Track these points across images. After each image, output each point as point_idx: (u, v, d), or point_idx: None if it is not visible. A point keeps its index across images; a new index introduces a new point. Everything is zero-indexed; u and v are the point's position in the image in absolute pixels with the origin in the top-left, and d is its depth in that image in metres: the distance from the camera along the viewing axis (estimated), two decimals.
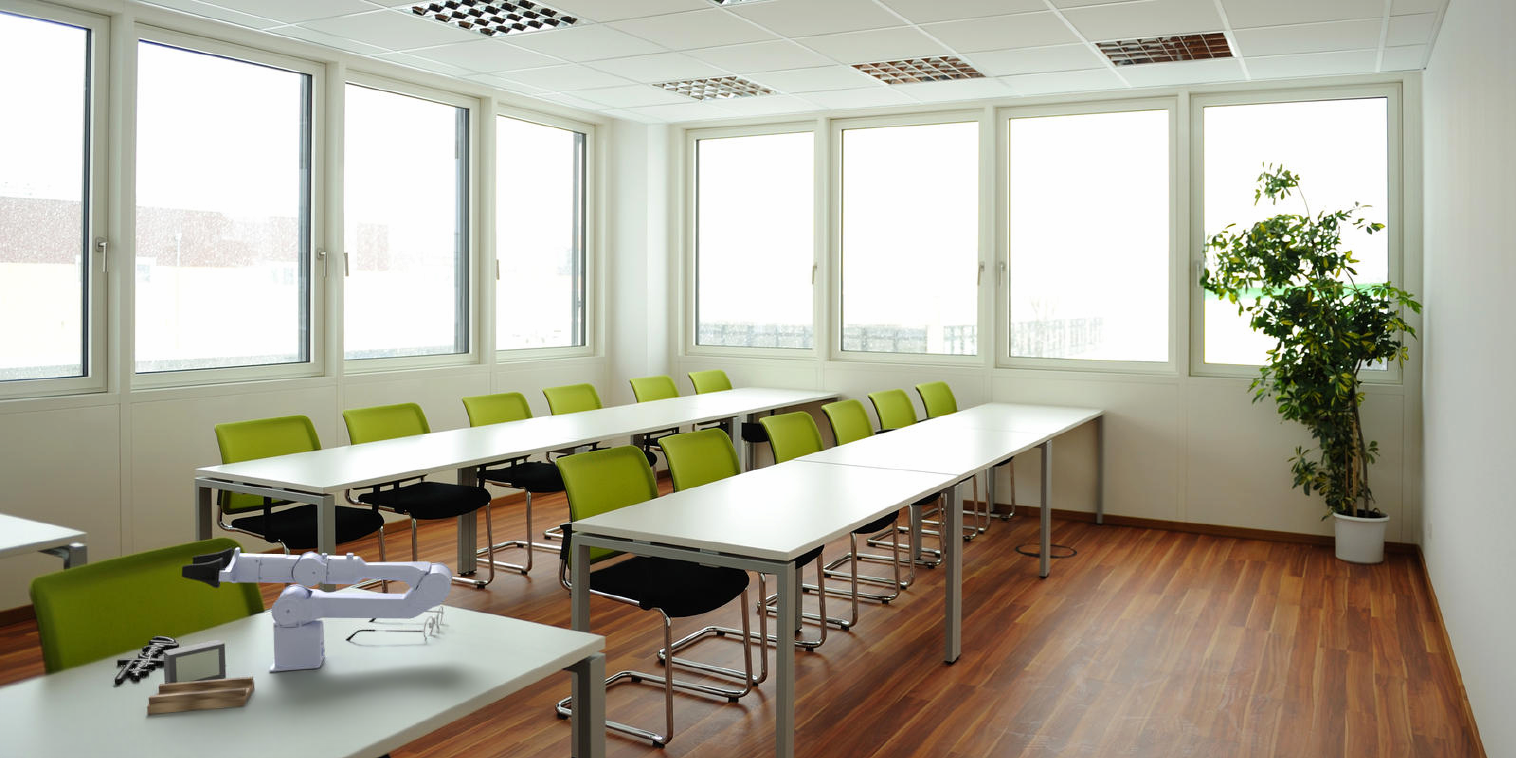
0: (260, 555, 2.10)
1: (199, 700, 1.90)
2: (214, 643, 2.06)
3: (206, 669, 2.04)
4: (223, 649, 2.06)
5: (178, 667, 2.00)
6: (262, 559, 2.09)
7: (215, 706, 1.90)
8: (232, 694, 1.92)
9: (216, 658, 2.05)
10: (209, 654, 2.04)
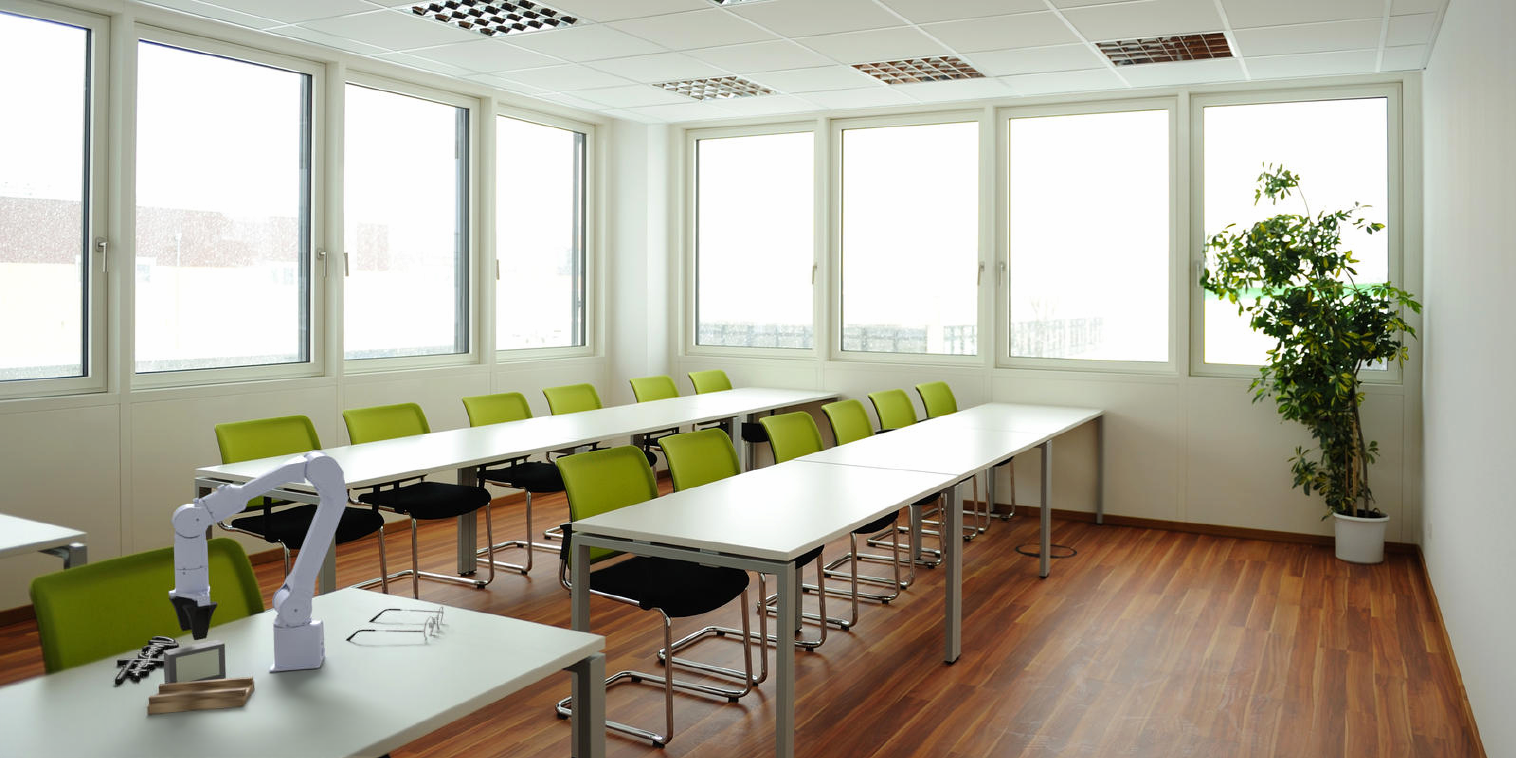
0: (176, 570, 2.00)
1: (199, 700, 1.90)
2: (214, 643, 2.06)
3: (206, 669, 2.04)
4: (223, 649, 2.06)
5: (178, 667, 2.00)
6: (179, 568, 2.00)
7: (215, 706, 1.90)
8: (232, 694, 1.92)
9: (216, 658, 2.05)
10: (209, 654, 2.04)
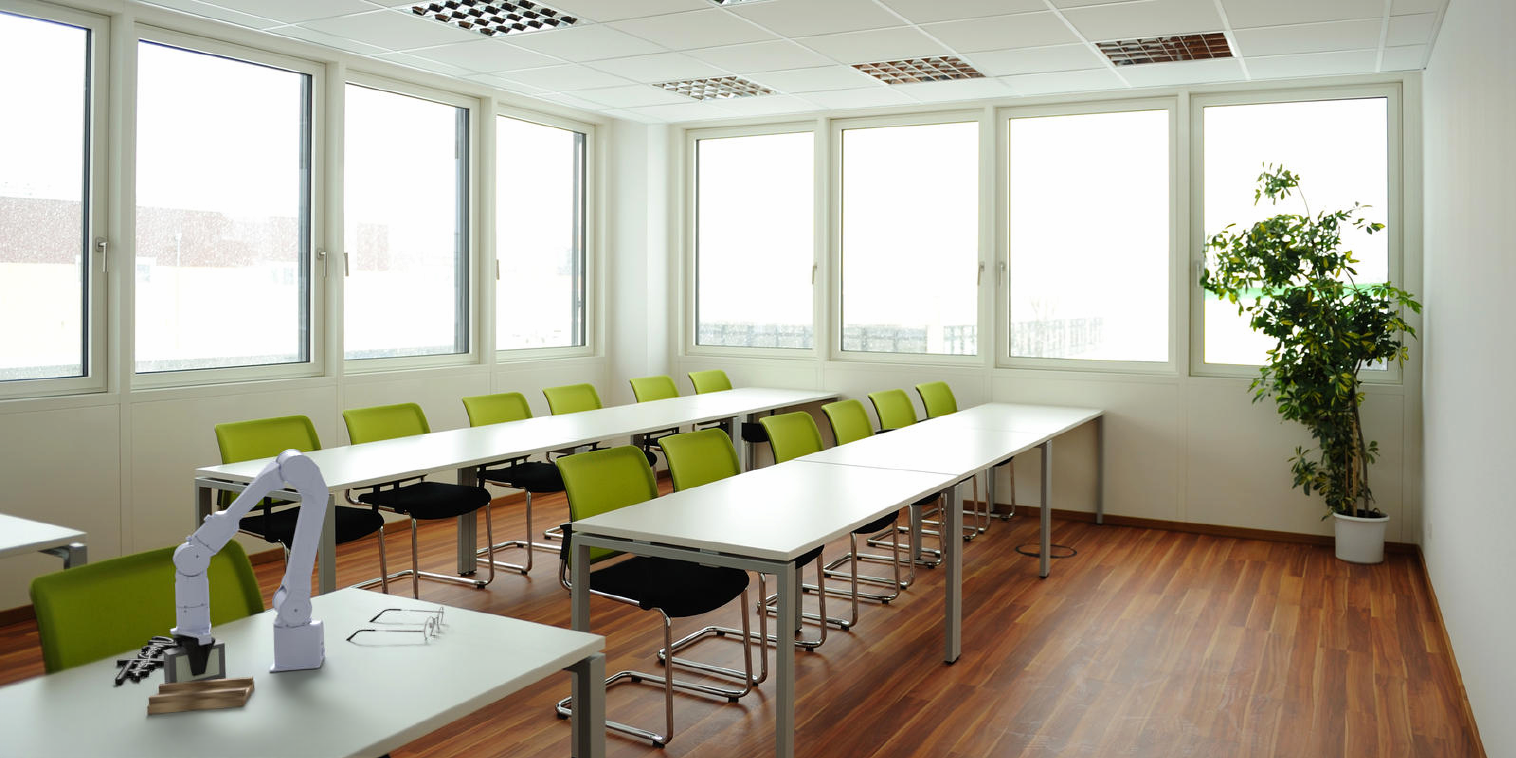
0: (178, 608, 2.00)
1: (199, 700, 1.90)
2: None
3: (206, 669, 2.03)
4: (223, 649, 2.06)
5: (178, 667, 2.00)
6: (180, 606, 2.00)
7: (215, 706, 1.90)
8: (232, 694, 1.92)
9: (216, 658, 2.05)
10: (209, 654, 2.04)
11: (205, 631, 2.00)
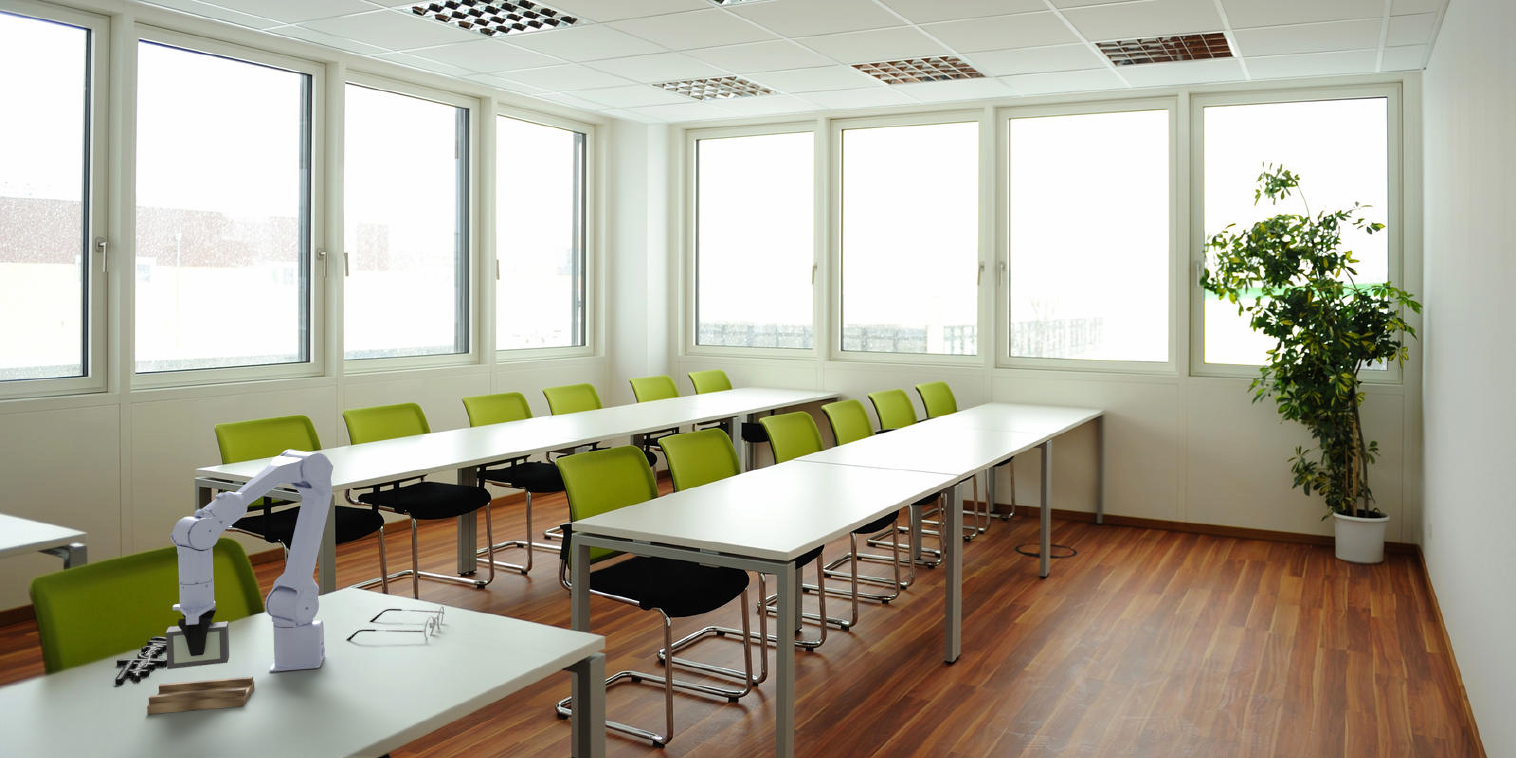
0: (179, 584, 1.93)
1: (199, 700, 1.90)
2: (218, 625, 1.96)
3: (206, 651, 1.95)
4: (224, 632, 1.96)
5: (175, 646, 1.93)
6: (190, 582, 1.92)
7: (215, 706, 1.90)
8: (232, 694, 1.92)
9: (217, 641, 1.95)
10: (209, 636, 1.95)
11: (198, 611, 1.91)
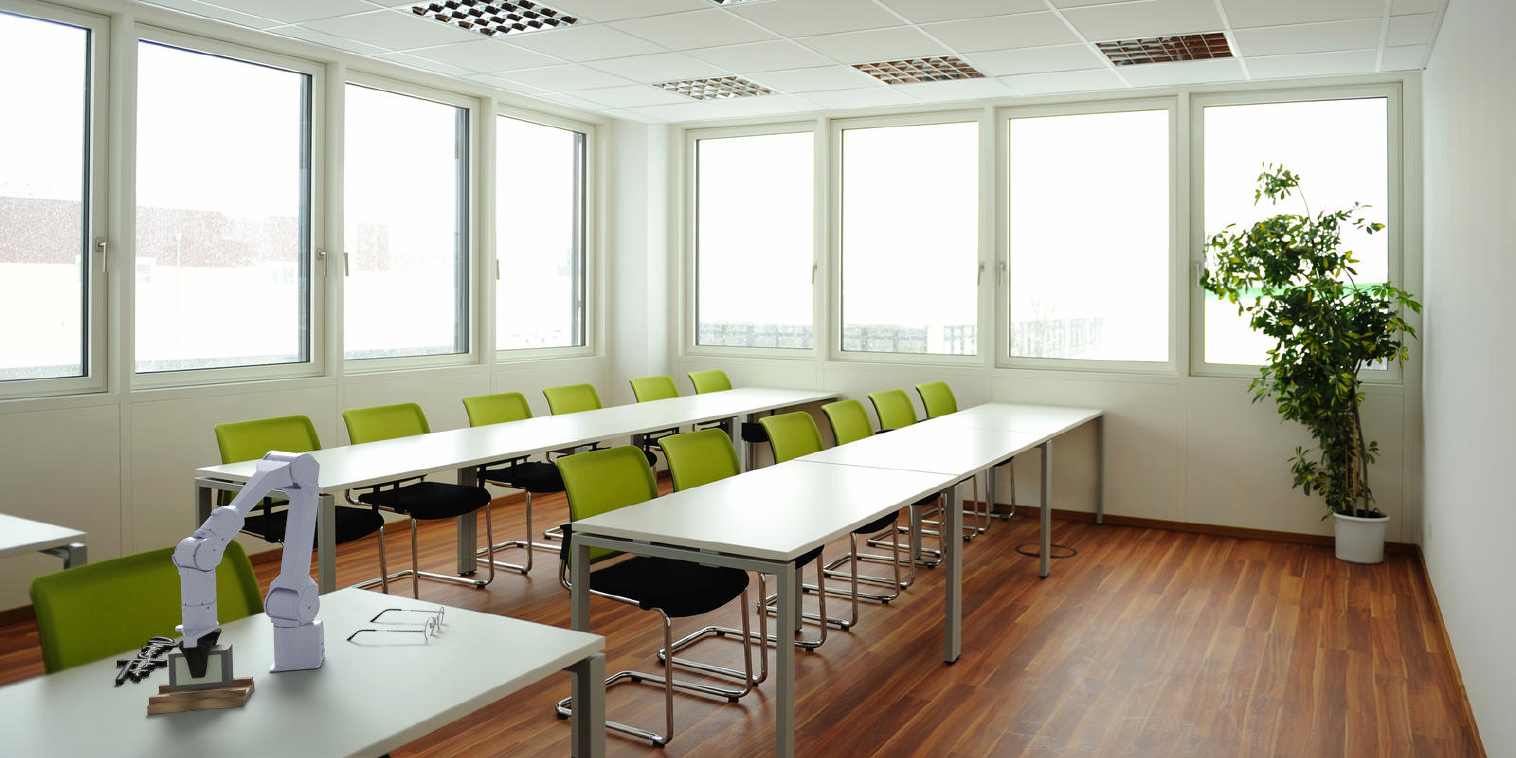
0: None
1: (199, 700, 1.90)
2: (221, 647, 1.94)
3: (208, 674, 1.92)
4: (226, 655, 1.93)
5: (178, 668, 1.91)
6: (195, 604, 1.90)
7: (215, 706, 1.90)
8: (232, 694, 1.92)
9: (219, 664, 1.92)
10: (211, 659, 1.92)
11: (197, 633, 1.88)
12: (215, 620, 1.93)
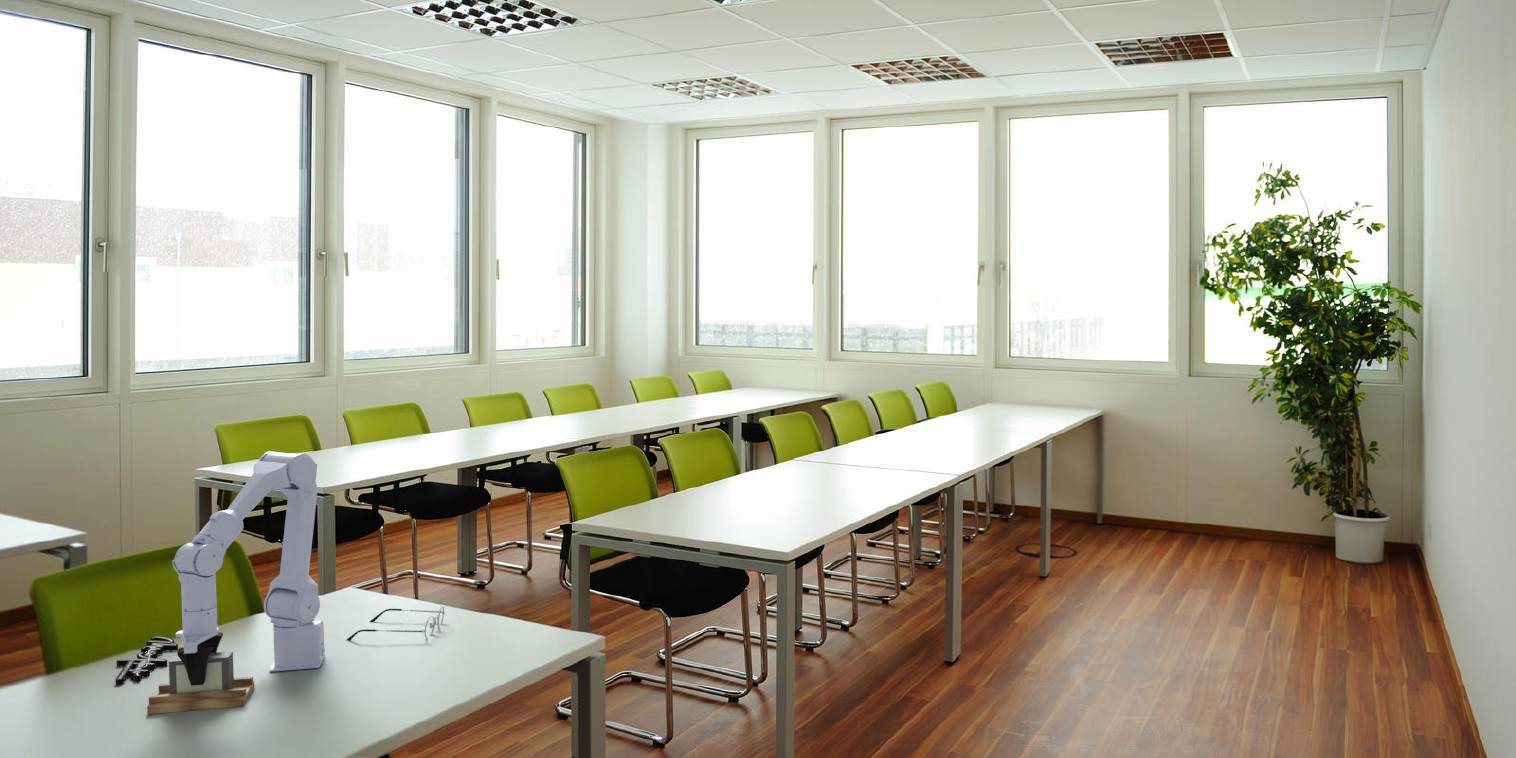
0: (182, 611, 1.91)
1: (199, 700, 1.90)
2: (221, 655, 1.94)
3: (208, 682, 1.92)
4: (227, 663, 1.93)
5: (178, 675, 1.91)
6: (195, 610, 1.90)
7: (215, 706, 1.90)
8: (232, 694, 1.92)
9: (219, 672, 1.93)
10: (211, 666, 1.92)
11: (197, 639, 1.89)
12: (215, 626, 1.93)
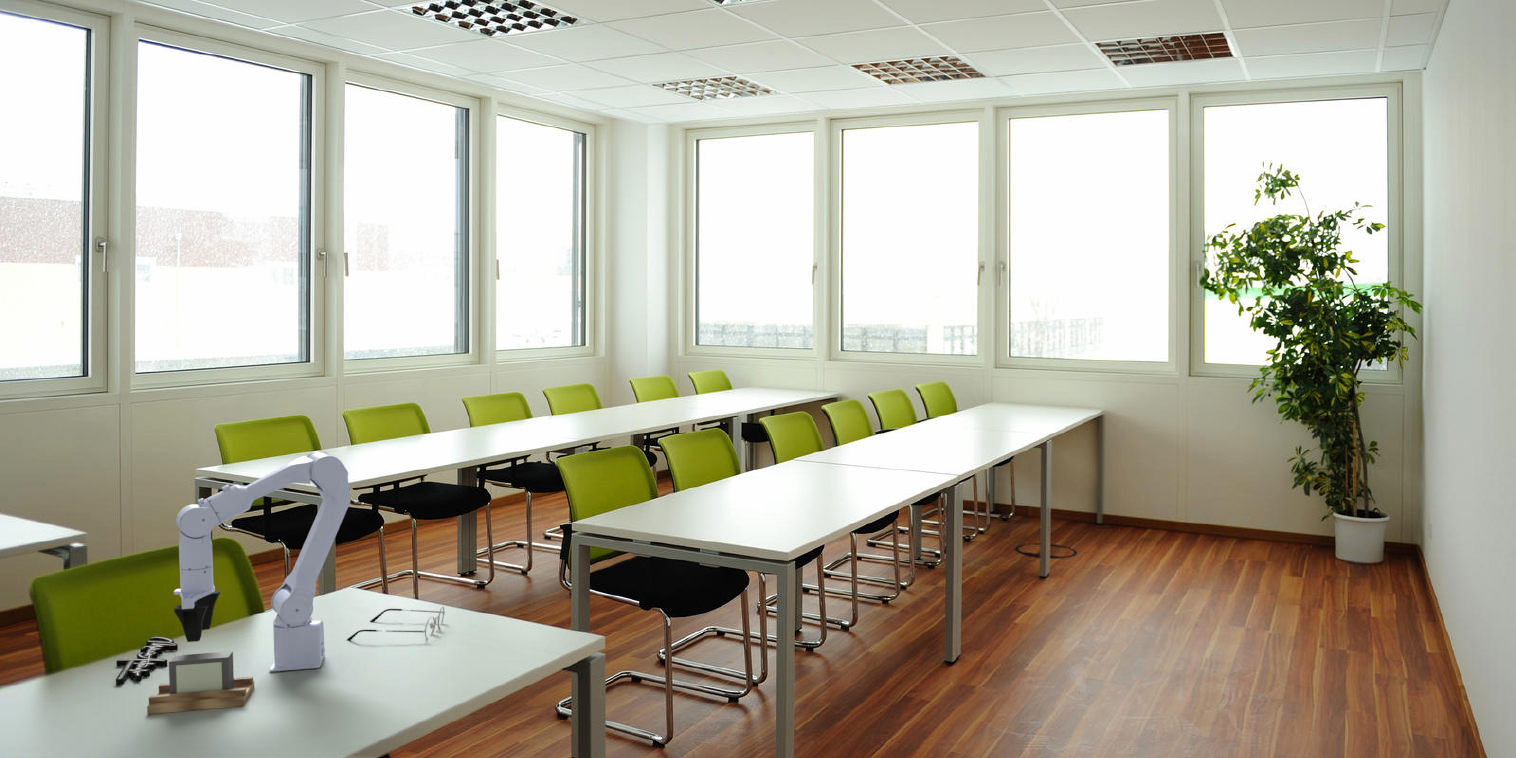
0: None
1: (199, 700, 1.90)
2: (221, 655, 1.94)
3: (208, 682, 1.92)
4: (227, 663, 1.93)
5: (178, 675, 1.91)
6: (184, 568, 1.99)
7: (215, 706, 1.90)
8: (232, 694, 1.92)
9: (219, 672, 1.93)
10: (211, 666, 1.92)
11: (194, 596, 1.98)
12: (212, 584, 2.02)
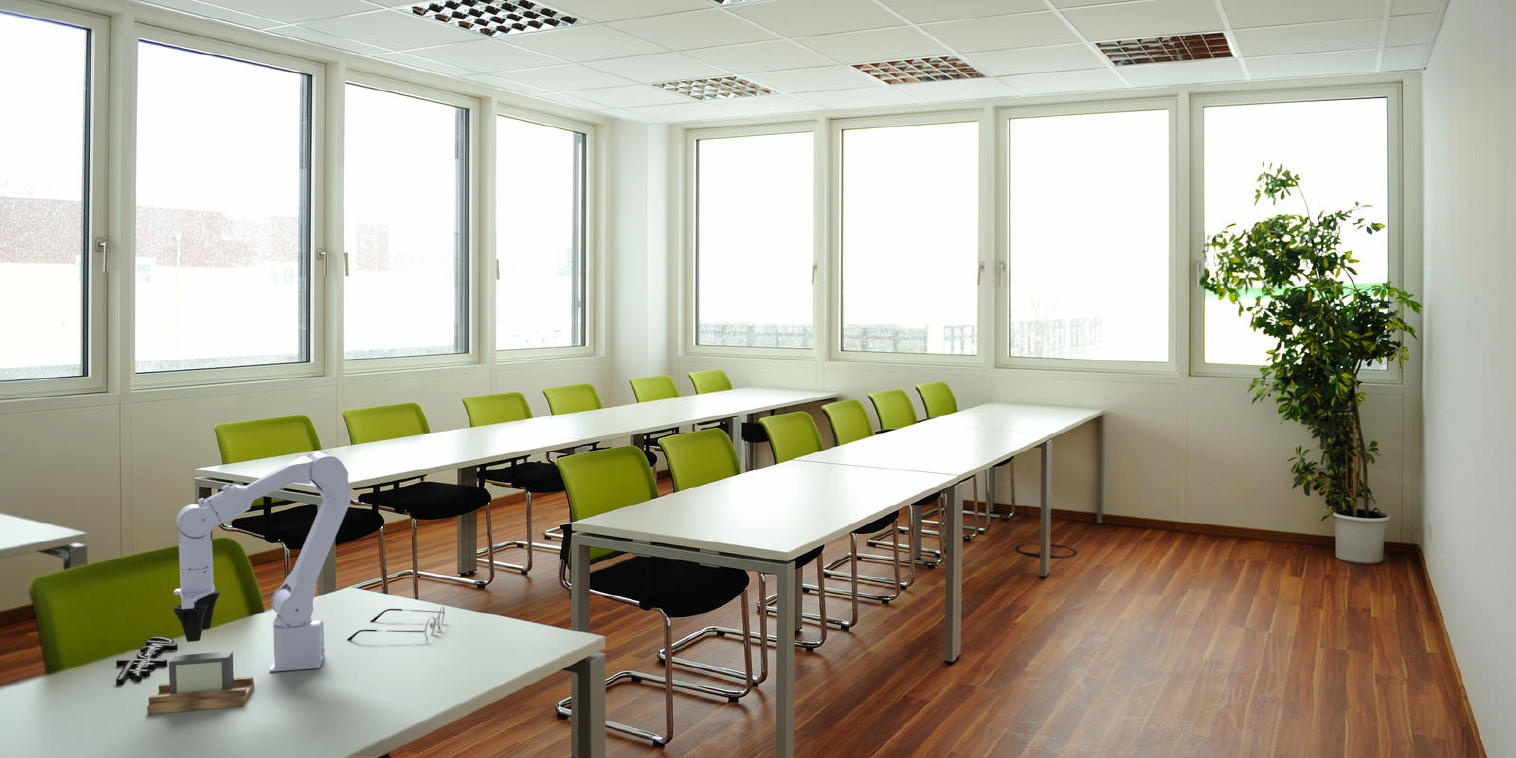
0: None
1: (199, 700, 1.90)
2: (221, 655, 1.94)
3: (208, 682, 1.92)
4: (227, 663, 1.93)
5: (178, 675, 1.91)
6: (184, 568, 1.99)
7: (215, 706, 1.90)
8: (232, 694, 1.92)
9: (219, 672, 1.93)
10: (211, 666, 1.92)
11: (194, 595, 1.98)
12: (211, 584, 2.02)
